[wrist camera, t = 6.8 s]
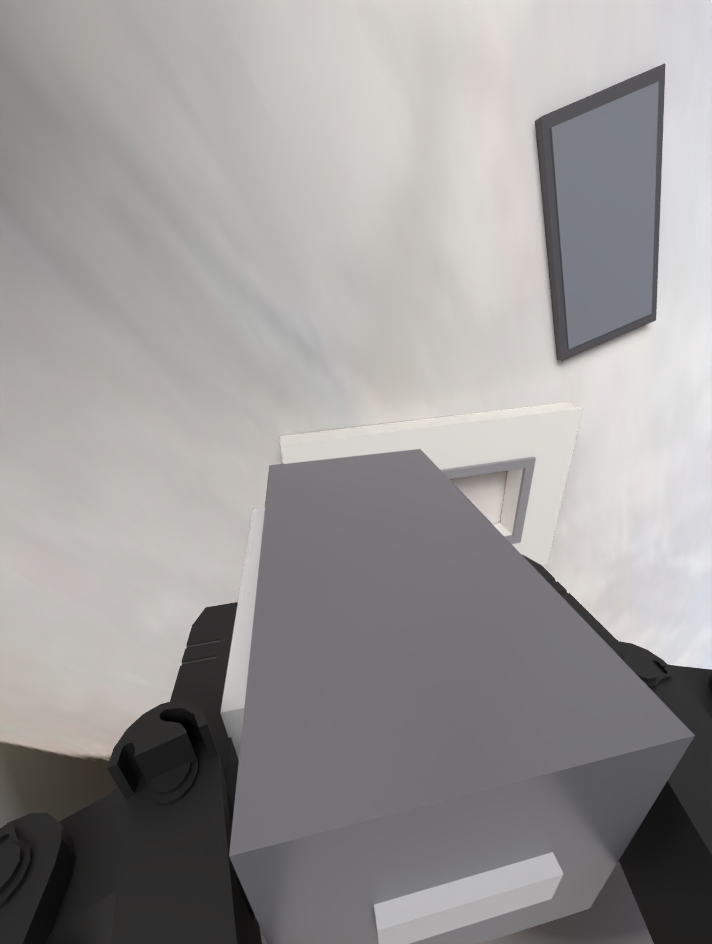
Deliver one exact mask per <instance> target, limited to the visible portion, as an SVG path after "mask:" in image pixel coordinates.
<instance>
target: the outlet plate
mask: <svg viewBox="0 0 712 944" xmlns="http://www.w3.org/2000/svg"><path fill="white" fill-rule="evenodd" d="M582 411H583V408H580V407H578V406H575V405H572V404H569V403H566V402H563V403H554V404H546V405H538V406H529V407H521V408H512V409H504V410H495V411H487V412H478V413H470V414H461V415H453V416H444V417H436V418H428V419H419V420H411V421H402V422H394V423H385V424H377V425H368V426H360V427H351V428H343V429H335V430H326V431H318V432H309V433H301V434H292V435H284V436H280V448H281V454H282V460H283V464H288V463H297V462H306V461H315V460H324V459H333V458H342V457H352V456H361V455H370V454H379V453H388V452H397V451H406V450H415V449H421V450H422V451H423V452H424V453H425V454H426V455H427V456H428V458H429V459H430V460H431V461H432V462H433V463H434V464H435V465H436V466H437V467H438V468H439V469H440V470H441V471H442V472H443V473H444V474H445V475H446V476H447V477H448V478H449V479H454V478H461V477H468V476H475V475H482V474H489V473H495V472H502V471H508V473H507V480H506V487H505V493H504V500H503V507H502V514H501V521H500V523H497V524H493V525H494V526H495V527H496V528H497V530H498V531H499V532H500V533H501V534H502V535H503V536H504V537H505V538H506V539H507V540H508V541H509V542H510V543H511V544H512V545H513V546H514V547H515V548H516V549H517V550H518V551H519V552H520V554H521V555H524V556H526V557H528V558H530V559H531V560H533V561H535V562H537V563H538V564H540V565H547V563H548V558H549V554H550V550H551V545H552V541H553V537H554V532H555V528H556V524H557V519H558V515H559V511H560V506H561V502H562V498H563V493H564V489H565V485H566V480H567V476H568V472H569V467H570V463H571V459H572V454H573V450H574V446H575V441H576V437H577V433H578V428H579V424H580V420H581V415H582Z"/></svg>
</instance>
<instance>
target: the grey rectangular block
mask: <svg viewBox="0 0 712 944" xmlns="http://www.w3.org/2000/svg"><path fill="white" fill-rule="evenodd" d="M694 736H695V735H694V734H693V733H692V732H691V731H690V730H689V729H688V728H687V727H686V726H685V725H684V724H683V723H682V721H681V720H680V719H679V718H678V717H677V716H676V715H675V714H674V713H673V712H672V711H671V710H670V709H669V708H668V707H667V706H666V705H665V704H664V703H663V702H662V701H661V700H660V699H659V697H658V696H657V695H656V694H655V693H654V692H653V691H652V690H651V689H650V688H649V687H648V686H647V685H646V684H645V683H644V682H643V681H642V680H641V679H640V678H639V677H638V676H637V675H636V673H635V672H634V671H633V670H632V669H631V668H630V667H629V666H628V665H627V664H626V663H625V662H624V661H623V660H622V659H621V658H620V657H619V656H618V655H617V654H616V653H615V652H614V651H613V649H612V648H611V647H610V646H609V645H608V644H607V643H606V642H605V641H604V640H603V639H602V638H601V637H600V636H599V635H598V634H597V633H596V632H595V631H594V630H593V629H592V628H591V627H590V625H589V624H588V623H587V622H586V621H585V620H584V619H583V618H582V617H581V616H580V615H579V614H578V613H577V612H576V611H575V610H574V609H573V608H572V607H571V606H570V605H569V604H568V603H567V601H566V600H565V599H564V598H563V597H562V596H561V595H560V594H559V593H558V592H557V591H556V590H555V589H554V588H553V587H552V586H551V585H550V584H549V583H548V582H547V581H546V580H545V579H544V577H543V576H542V575H541V574H540V573H539V572H538V571H537V570H536V569H535V568H534V567H533V566H532V565H531V564H530V563H529V562H528V561H527V560H526V559H525V558H524V557H523V556H522V555H521V554H520V552H519V551H518V550H517V549H516V548H515V547H514V546H513V545H512V544H511V543H510V542H509V541H508V540H507V539H506V538H505V537H504V536H503V535H502V534H501V533H500V532H499V531H498V530H497V528H496V527H495V526H494V525H493V524H492V523H491V522H490V521H489V520H488V519H487V518H486V517H485V516H484V515H483V514H482V513H481V512H480V511H479V510H478V509H477V508H476V507H475V506H474V504H473V503H472V502H471V501H470V500H469V499H468V498H467V497H466V496H465V495H464V494H463V493H462V492H461V491H460V490H459V489H458V488H457V487H456V486H455V485H454V484H453V483H452V482H451V480H450V479H449V478H448V477H447V476H446V475H445V474H444V473H443V472H442V471H441V470H440V469H439V468H438V467H437V466H436V465H435V464H434V463H433V462H432V461H431V460H430V459H429V458H428V456H427V455H426V454H425V453H424V452H423V451H422V450H421V449H415V450H406V451H397V452H388V453H379V454H370V455H361V456H352V457H342V458H333V459H324V460H315V461H306V462H297V463H288V464H279V465H270V466H269V473H268V483H267V493H266V502H265V512H264V522H263V531H262V541H261V551H260V561H259V570H258V580H257V590H256V599H255V609H254V619H253V629H252V638H251V648H250V658H249V667H248V677H247V687H246V697H245V706H244V716H243V726H242V735H241V745H240V755H239V765H238V774H237V784H236V794H235V804H234V813H233V823H232V833H231V842H230V852H229V857H230V860H231V862H232V864H233V866H234V869H235V871H236V873H237V876H238V878H239V880H240V882H241V885H242V887H243V889H244V892H245V894H246V896H247V898H248V901H249V903H250V905H251V908H252V910H253V912H254V914H255V917H256V919H257V921H258V923H259V926H260V928H261V930H262V933H263V935H264V937H265V939H266V942H267V944H481V943H484V942H487V941H490V940H494V939H497V938H500V937H503V936H506V935H509V934H512V933H515V932H518V931H521V930H524V929H527V928H531V927H533V926H536V925H540V924H543V923H546V922H549V921H552V920H555V919H558V918H561V917H564V916H567V915H570V914H574V913H577V912H580V911H583V910H586V909H589V908H590V907H591V905H592V903H593V902H594V900H595V898H596V896H597V895H598V893H599V892H600V890H601V889H602V887H603V885H604V884H605V882H606V880H607V879H608V877H609V875H610V874H611V872H612V871H613V869H614V867H615V866H616V864H617V862H618V861H619V859H620V857H621V856H622V854H623V853H624V851H625V849H626V848H627V846H628V844H629V843H630V841H631V839H632V838H633V836H634V835H635V833H636V831H637V830H638V828H639V826H640V825H641V823H642V821H643V820H644V818H645V817H646V815H647V813H648V812H649V810H650V808H651V807H652V805H653V803H654V802H655V800H656V799H657V797H658V795H659V794H660V792H661V790H662V789H663V787H664V785H665V784H666V782H667V781H668V779H669V777H670V776H671V774H672V772H673V771H674V769H675V767H676V766H677V764H678V763H679V761H680V759H681V758H682V756H683V754H684V753H685V751H686V749H687V748H688V746H689V745H690V743H691V741H692V740H693V738H694Z"/></svg>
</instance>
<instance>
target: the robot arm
mask: <svg viewBox="0 0 712 944" xmlns="http://www.w3.org/2000/svg"><path fill="white" fill-rule="evenodd" d="M264 512H265V507H263V508H255V509H253V511H252V517H251V524H250V530H249V536H248V543H247V549H246V555H245V561H244V568H243V574H242V580H241V586H240V593H239V599H238V602H237V603H230V604H224V605H218V606H212V607H206V608H205V609H204V611H203V612H202V613H201V615H200V616H199V617H198V618H197V620H196V621H195V622H194V624H193V625H192V628H191V632H190V635H189V638H188V642H187V649H185V652H184V655H183V659H182V666H180V669H179V673H178V676H177V679H176V683H175V686H174V690H173V693H172V696H171V700H170V702H168V703H164V704H160V705H159V706H157V707H155V708H153V709H152V710H150V711H148V712H146V713H145V714H143V715H142V716H141V717H140V718H139V719H138V720H136V721H135V722H134V723H133V724H132V725H131V726H130V727H129V728H128V729H127V730H126V731H125V733H124V734H123V736H122V737H121V739H120V740H119V741H118V743H117V744H116V746H115V747H114V749H113V752H112V755H111V758H110V761H109V764H108V767H107V769H108V771H109V772H110V774H111V776H112V777H113V779H114V781H115V783H116V784H117V786H118V788H117V789H116V790H114V791H113V792H111V793H110V794H108V795H107V796H105V797H103V798H101V799H99V800H98V801H96V802H94V803H92V804H90V805H89V806H87V807H85V808H83V809H81V810H80V811H78V812H76V813H74V814H72V815H71V816H69V817H67V818H65V819H63V820H62V821H60V822H58V821H57V820H56V819H55V818H53V817H52V816H51V815H49V814H48V813H33V814H28V815H26V816H23V817H21V818H19V819H16V820H14V821H11V822H9V823H7V824H6V825H5V826H3V827H2V828H0V944H262V942H261V935H260V927H259V923H258V921H257V919H256V917H255V914H254V912H253V910H252V908H251V905H250V903H249V901H248V898H247V896H246V894H245V892H244V889H243V887H242V885H241V882H240V880H239V878H238V876H237V873H236V871H235V869H234V866H233V864H232V862H231V860H230V857H229V852H230V842H231V833H232V823H233V813H234V804H235V794H236V784H237V774H238V765H239V755H240V745H241V735H242V726H243V716H244V706H245V697H246V687H247V677H248V667H249V658H250V648H251V638H252V629H253V619H254V609H255V599H256V590H257V580H258V570H259V561H260V551H261V541H262V531H263V522H264ZM522 556H523V557H524V558H525V559H526V560H527V561H528V562H529V563H530V564H531V565H532V566H533V567H534V568H535V569H536V570H537V571H538V572H539V573H540V574H541V575H542V576H543V577H544V579H545V580H546V581H547V582H548V583H549V584H550V585H551V586H552V587H553V588H554V589H555V590H556V591H557V592H558V593H559V594H560V595H561V596H562V597H563V598H564V599H565V600H566V601H567V603H568V604H569V605H570V606H571V607H572V608H573V609H574V610H575V611H576V612H577V613H578V614H579V615H580V616H581V617H582V618H583V619H584V620H585V621H586V622H587V623H588V624H589V625H590V627H591V628H592V629H593V630H594V631H595V632H596V633H597V634H598V635H599V636H600V637H601V638H602V639H603V640H604V641H605V642H606V643H607V644H608V645H609V646H610V647H611V648H612V649H613V651H614V652H615V653H616V654H617V655H618V656H619V657H620V658H621V659H622V660H623V661H624V662H625V663H626V664H627V665H628V666H629V667H630V668H631V669H632V670H633V671H634V672H635V673H636V675H637V676H638V677H639V678H640V679H641V680H642V681H643V682H644V683H645V684H646V685H647V686H648V687H649V688H650V689H651V690H652V691H653V692H654V693H655V694H656V695H657V696H658V697H659V699H660V700H661V701H662V702H663V703H664V704H665V705H666V706H667V707H668V708H669V709H670V710H671V711H672V712H673V713H674V714H675V715H676V716H677V717H678V718H679V719H680V720H681V721H682V723H683V724H684V725H685V726H686V727H687V728H688V729H689V730H690V731H691V732H692V733H693V734H694V735H695V736H694V738H693V740H692V741H691V743H690V745H689V746H688V748H687V749H686V751H685V753H684V754H683V756H682V758H681V759H680V761H679V763H678V764H677V766H676V767H675V769H674V771H673V772H672V774H671V776H670V777H669V779H668V781H667V782H666V784H665V785H664V787H663V789H662V790H661V792H660V794H659V795H658V797H657V799H656V800H655V802H654V803H653V805H652V807H651V808H650V810H649V812H648V813H647V815H646V817H645V818H644V820H643V821H642V823H641V825H640V826H639V828H638V830H637V831H636V833H635V835H634V836H633V838H632V839H631V841H630V843H629V844H628V846H627V848H626V849H625V851H624V853H623V854H622V856H621V857H620V859H619V862H620V864H621V866H622V869H623V871H624V874H625V876H626V878H627V881H628V883H629V886H630V888H631V890H632V893H633V895H634V897H635V900H636V902H637V905H638V907H639V909H640V912H641V914H642V916H643V918H644V921H645V923H646V926H647V928H648V931H649V933H650V935H651V938H652V940H653V942H654V944H712V670H709V669H700V668H691V667H682V666H673V665H667V664H666V663H665V662H664V661H663V660H662V659H661V658H659V657H657V656H656V655H654V654H653V653H651V652H650V651H648V650H646V649H644V648H641V647H639V646H636V645H634V644H631V643H625V642H619V641H618V640H616V639H615V638H614V637H613V636H612V635H611V634H610V633H609V632H608V631H607V630H606V629H605V628H604V627H603V626H602V625H601V624H600V623H599V622H598V621H597V620H596V619H595V618H594V617H593V616H592V615H591V614H590V613H589V612H588V611H587V610H586V609H585V608H584V607H583V606H582V605H581V604H580V603H579V602H578V601H577V600H576V599H575V598H574V597H573V596H572V595H571V594H570V593H567V590H566V589H565V588H564V587H563V586H562V585H561V584H560V583H559V582H556V581H555V578H554V577H553V576H552V575H551V574H550V573H549V572H548V571H547V570H546V569H545V568H544V567H543V566H542V565H540V564H538V563H537V562H535V561H533V560H531V559H530V558H528V557H526V556H524V555H522Z"/></svg>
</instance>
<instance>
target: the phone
mask: <svg viewBox="0 0 712 944" xmlns="http://www.w3.org/2000/svg"><path fill="white" fill-rule="evenodd" d="M664 86H665V64H663V65H660V66H658V67H656V68H653V69H651V70H649V71H646V72H644V73H642V74H639V75H637V76H635V77H632V78H630V79H628V80H625V81H623V82H621V83H618V84H616V85H614V86H611V87H609V88H607V89H604V90H602V91H600V92H598V93H595V94H593V95H591V96H588V97H586V98H584V99H581V100H579V101H577V102H574V103H572V104H570V105H567V106H565V107H563V108H560V109H558V110H556V111H553V112H551V113H549V114H546V115H544V116H542V117H540V118H539V119H537V120H536V121H535V126H536V137H537V148H538V159H539V169H540V180H541V191H542V202H543V213H544V224H545V235H546V246H547V257H548V267H549V278H550V289H551V300H552V311H553V322H554V333H555V344H556V355H557V360H562V361H563V360H565V359H568V358H570V357H572V356H575V355H577V354H579V353H581V352H584V351H586V350H588V349H591V348H593V347H595V346H598V345H600V344H602V343H604V342H607V341H609V340H611V339H614V338H616V337H618V336H621V335H623V334H625V333H627V332H630V331H632V330H634V329H637V328H639V327H641V326H644V325H646V324H648V323H651V322H653V321H655V320H656V305H657V278H658V251H659V223H660V196H661V168H662V141H663V113H664Z"/></svg>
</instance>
